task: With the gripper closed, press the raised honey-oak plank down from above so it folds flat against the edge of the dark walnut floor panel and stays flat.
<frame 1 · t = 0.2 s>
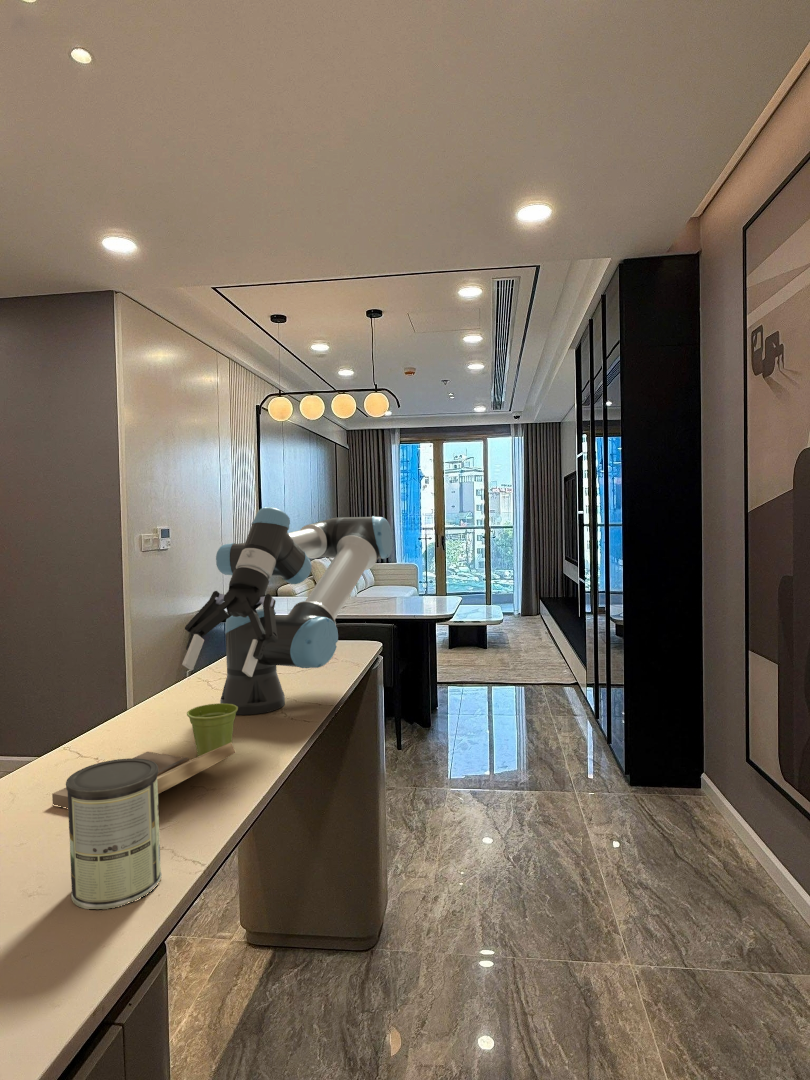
hand: (216, 670, 126), 16 cm above the kitchen island, tool tilted 35°, fingers open, 13 cm apart
coffee can: (117, 888, 81), on the kitchen island
plant pot: (214, 755, 126), on the kitchen island
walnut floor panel: (125, 786, 112), on the kitchen island
oak plank: (172, 777, 107), point 3 cm above the kitchen island, hinge at 25.0°
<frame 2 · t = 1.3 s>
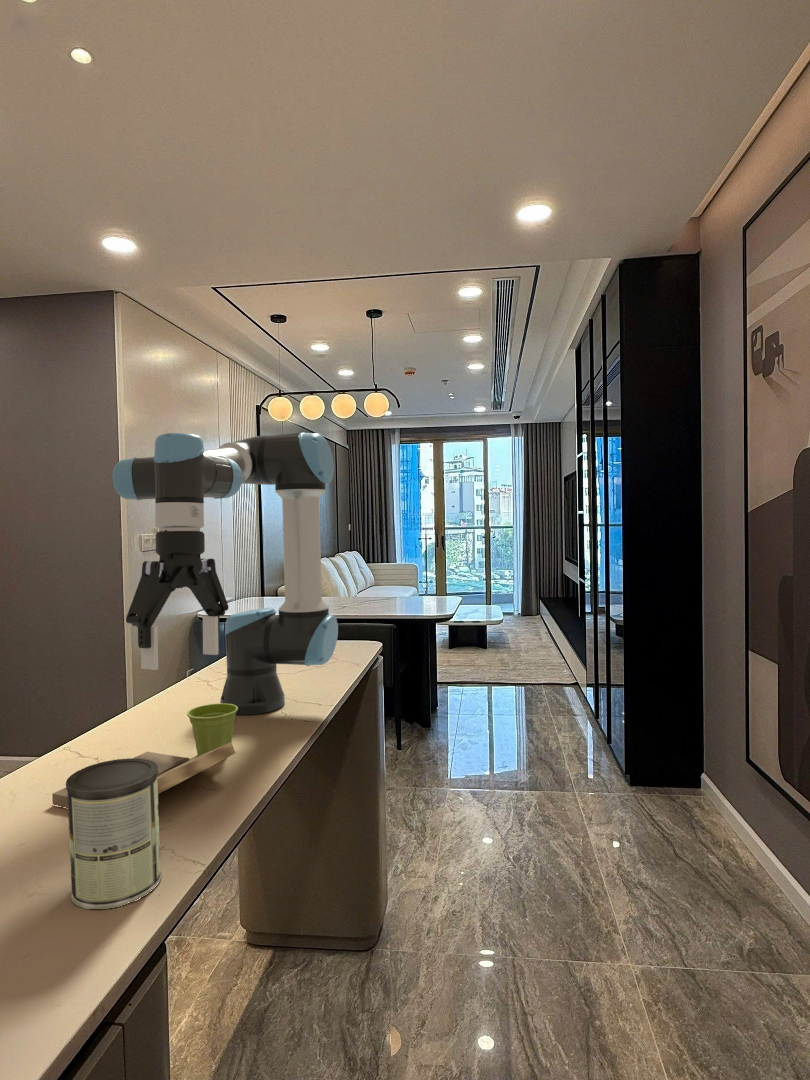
hand: (182, 661, 107), 22 cm above the kitchen island, tool pointing down, fingers open, 13 cm apart
nothing on the kitchen island moved.
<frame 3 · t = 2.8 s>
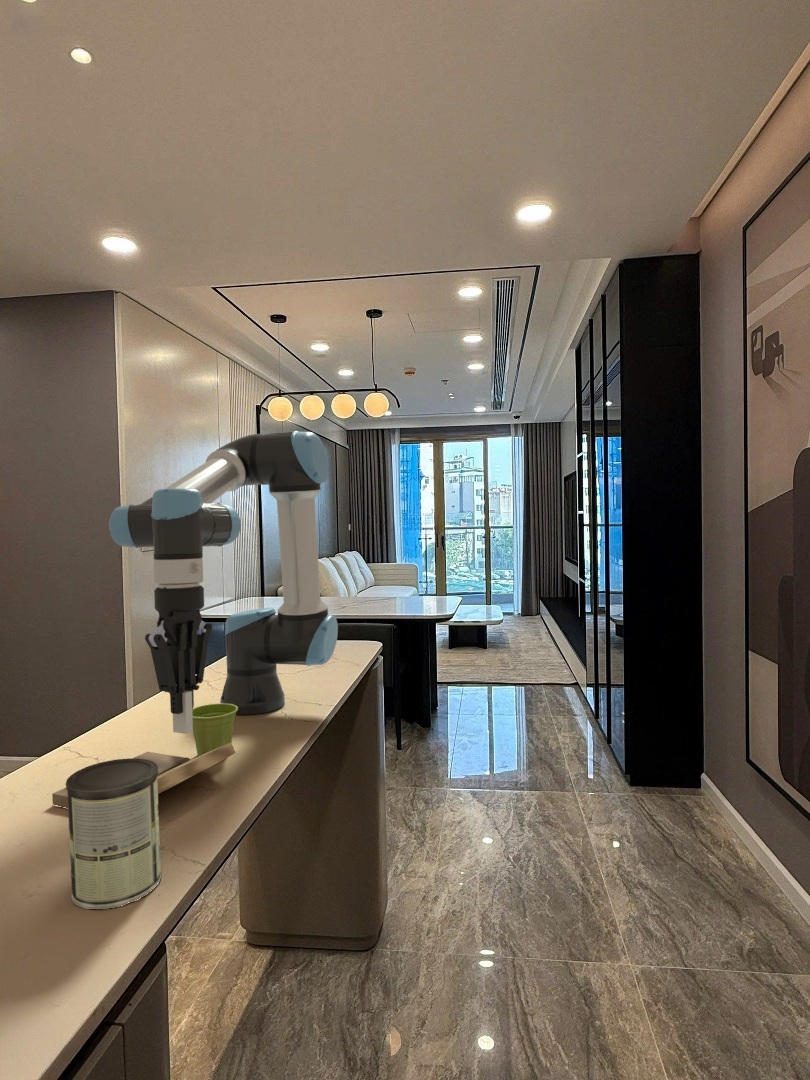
hand: (183, 731, 106), 11 cm above the kitchen island, tool pointing down, fingers closed
nothing on the kitchen island moved.
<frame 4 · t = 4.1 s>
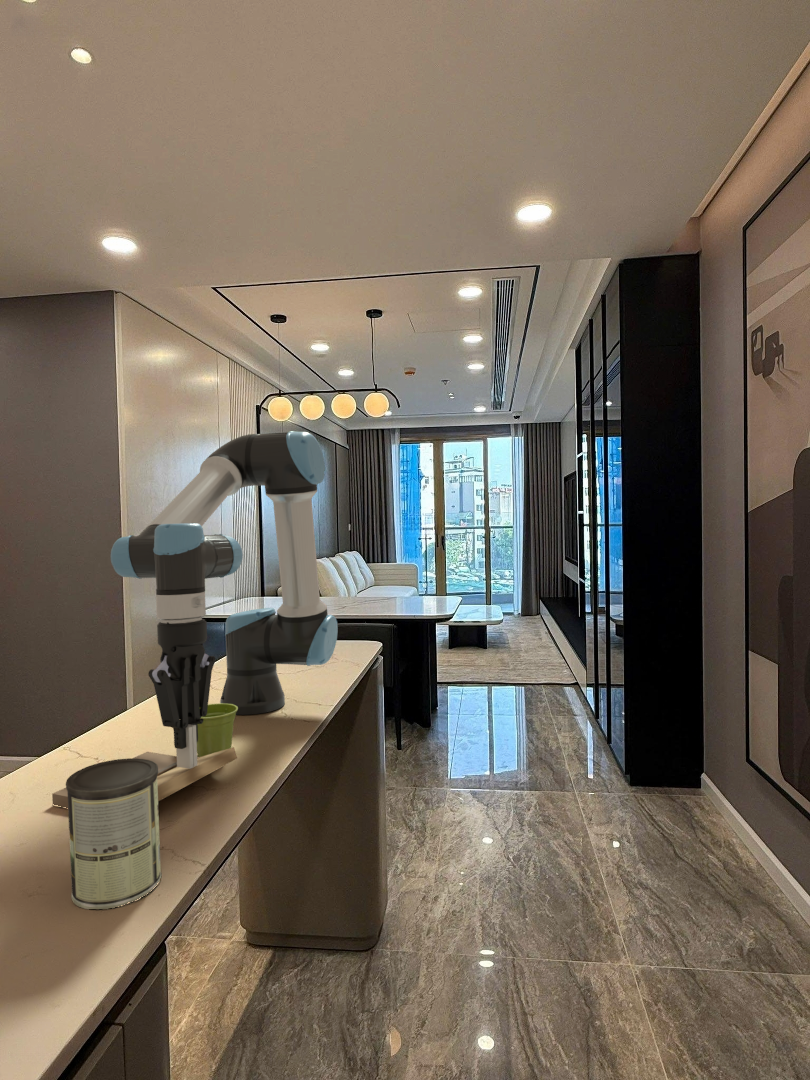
hand: (187, 765, 106), 5 cm above the kitchen island, tool pointing down, fingers closed
oak plank: (173, 779, 107), point 3 cm above the kitchen island, hinge at 19.5°, touching gripper
everything else where it was.
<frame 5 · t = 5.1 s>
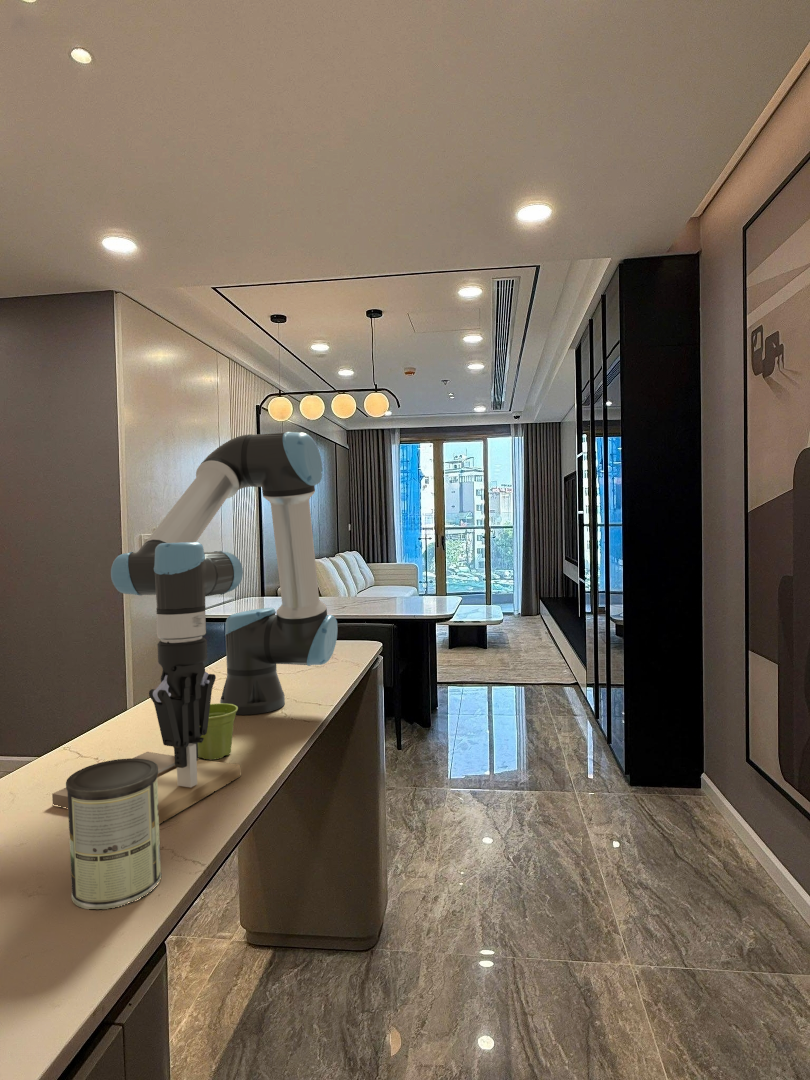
hand: (187, 784, 106), 2 cm above the kitchen island, tool pointing down, fingers closed
oak plank: (177, 789, 107), point 1 cm above the kitchen island, hinge at 1.6°, touching gripper
everything else where it was.
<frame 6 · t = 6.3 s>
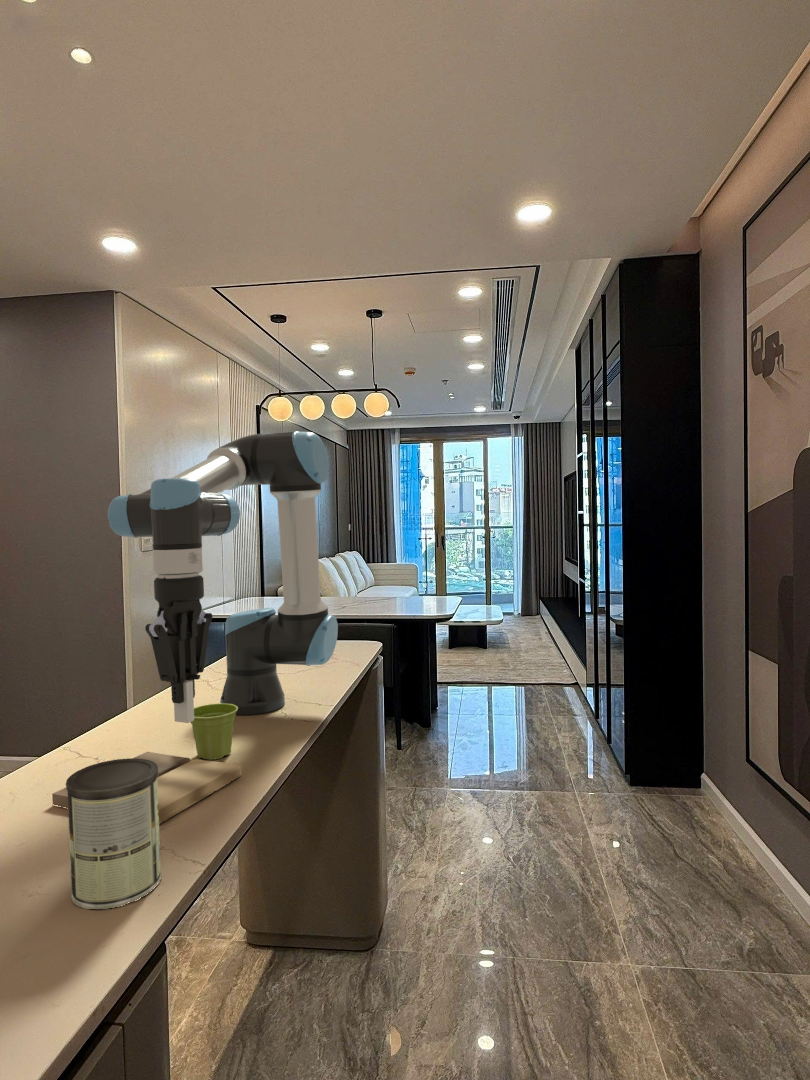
hand: (184, 720, 106), 13 cm above the kitchen island, tool pointing down, fingers closed
oak plank: (177, 789, 107), point 1 cm above the kitchen island, hinge at 1.6°
everything else where it was.
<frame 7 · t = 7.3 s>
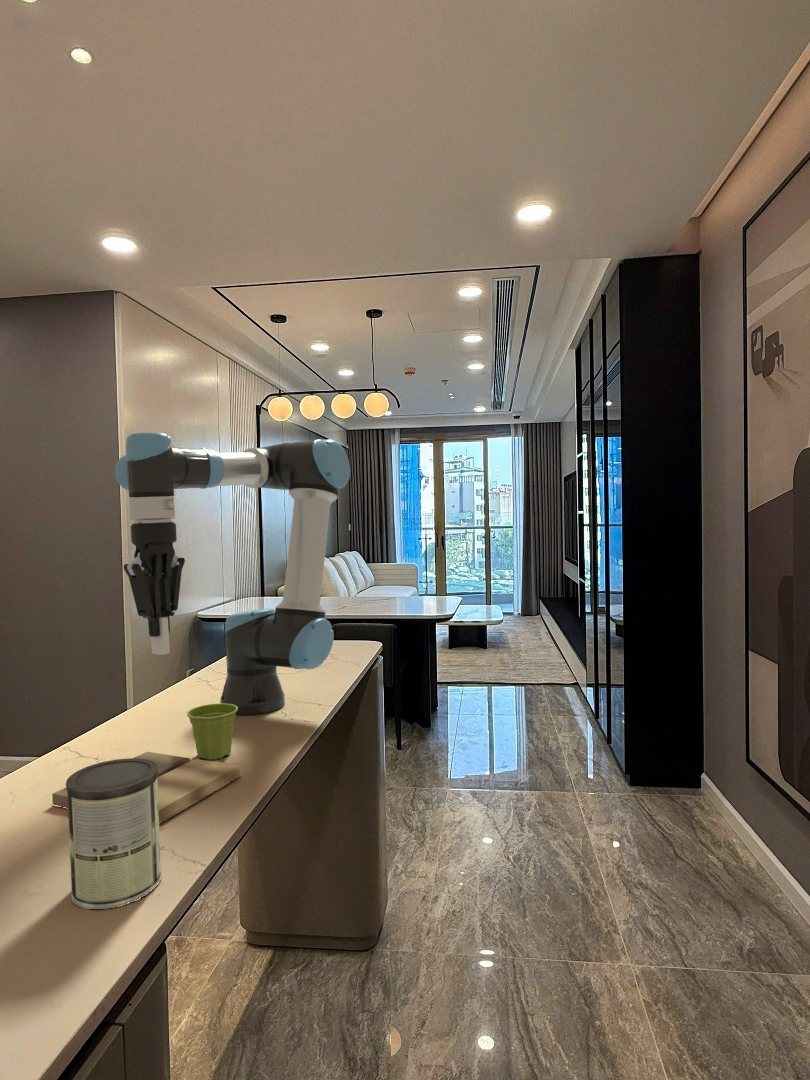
hand: (160, 653, 118), 21 cm above the kitchen island, tool pointing down, fingers closed
nothing on the kitchen island moved.
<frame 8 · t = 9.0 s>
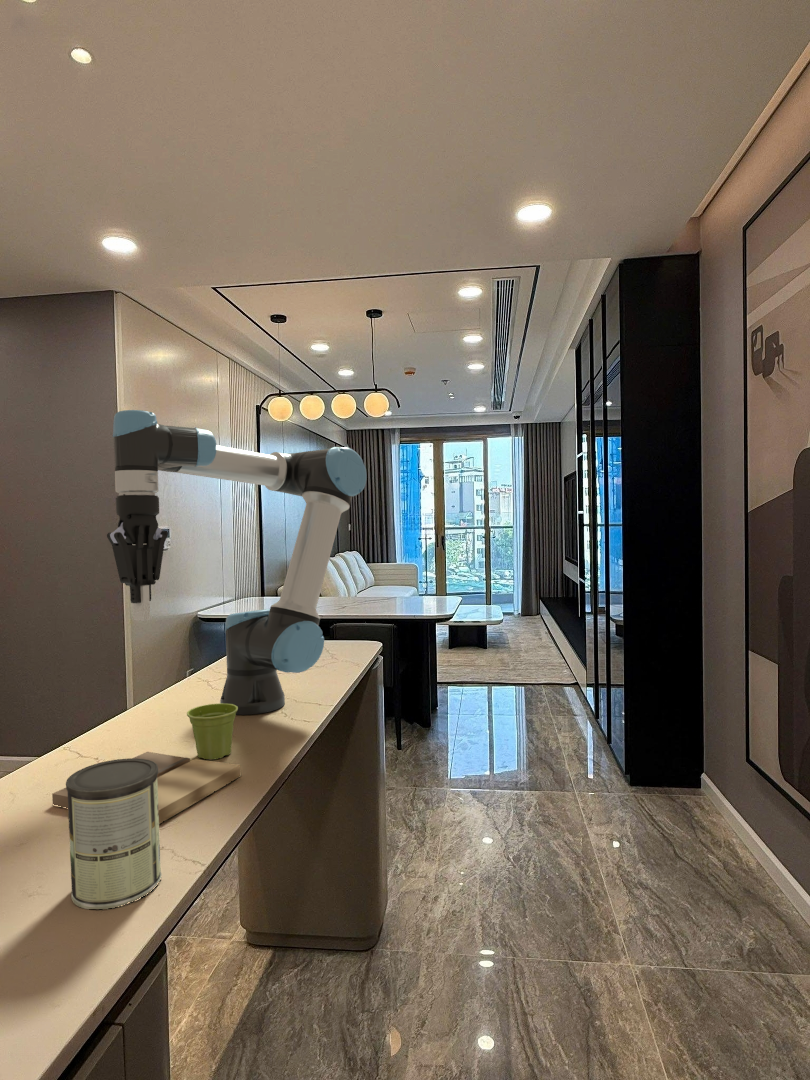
hand: (141, 619, 124), 26 cm above the kitchen island, tool pointing down, fingers closed
nothing on the kitchen island moved.
at the end: oak plank at +2° (first picture: +25°); plant pot moved 0.2 cm from its start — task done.
